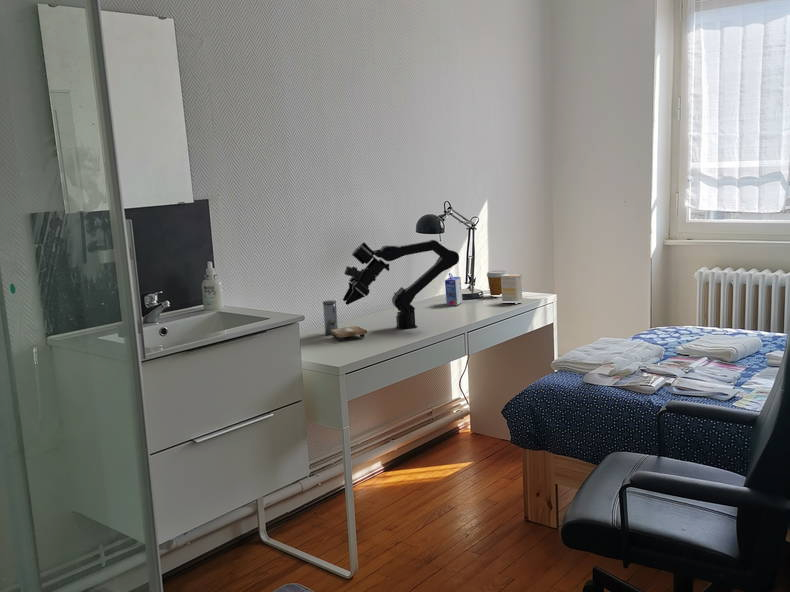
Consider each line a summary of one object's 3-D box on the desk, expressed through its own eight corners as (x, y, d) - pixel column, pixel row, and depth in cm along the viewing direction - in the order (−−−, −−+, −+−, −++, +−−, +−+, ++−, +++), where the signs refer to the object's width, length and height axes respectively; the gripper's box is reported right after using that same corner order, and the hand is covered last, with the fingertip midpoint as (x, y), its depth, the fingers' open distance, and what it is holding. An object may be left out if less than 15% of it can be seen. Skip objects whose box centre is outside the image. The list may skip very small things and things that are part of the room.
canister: (335, 332, 299) (333, 299, 297) (340, 334, 294) (337, 301, 292) (323, 334, 297) (320, 301, 295) (327, 336, 292) (325, 303, 290)
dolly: (357, 333, 294) (356, 325, 293) (367, 337, 284) (367, 330, 283) (330, 336, 290) (329, 329, 289) (339, 341, 280) (339, 334, 279)
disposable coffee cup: (507, 294, 366) (507, 270, 364) (507, 298, 357) (506, 272, 355) (488, 295, 368) (487, 270, 366) (486, 298, 359) (485, 273, 357)
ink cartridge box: (451, 302, 353) (449, 271, 351) (462, 302, 351) (461, 271, 349) (445, 306, 344) (444, 274, 342) (457, 306, 342) (456, 274, 340)
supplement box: (522, 303, 340) (522, 274, 338) (517, 304, 337) (516, 275, 335) (507, 302, 346) (506, 273, 344) (501, 303, 342) (500, 275, 340)
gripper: (353, 256, 302) (327, 285, 302) (358, 260, 284) (331, 292, 284) (373, 274, 305) (348, 303, 304) (380, 280, 286) (353, 311, 286)
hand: (344, 302), depth 295 cm, fingers open, 9 cm apart
